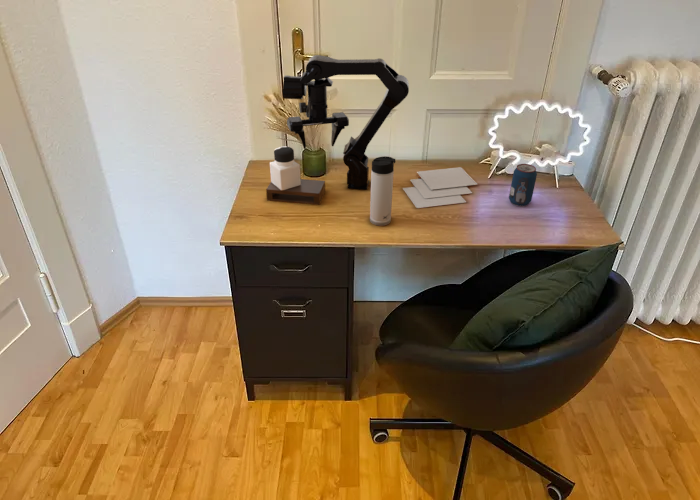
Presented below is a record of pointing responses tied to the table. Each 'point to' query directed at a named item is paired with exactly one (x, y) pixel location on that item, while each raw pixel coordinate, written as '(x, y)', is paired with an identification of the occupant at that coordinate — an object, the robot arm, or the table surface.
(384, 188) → the travel mug
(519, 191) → the soda can
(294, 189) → the brown slotted box
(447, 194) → the paper stack
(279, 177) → the medicine bottle
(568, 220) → the table surface
